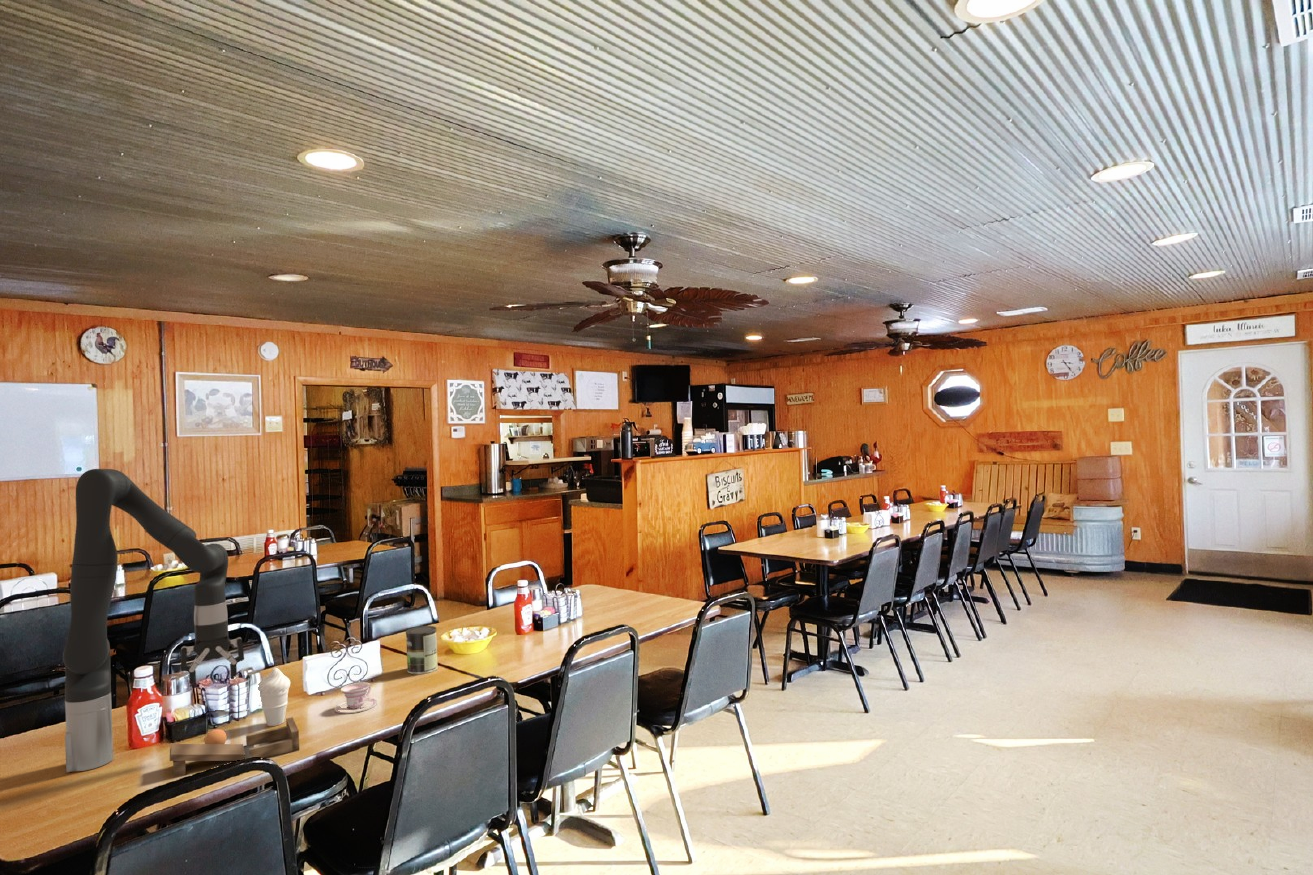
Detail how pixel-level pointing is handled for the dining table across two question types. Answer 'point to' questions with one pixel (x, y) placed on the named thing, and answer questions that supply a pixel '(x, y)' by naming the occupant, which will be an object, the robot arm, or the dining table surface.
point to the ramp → (203, 754)
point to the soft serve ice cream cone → (274, 696)
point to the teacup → (356, 697)
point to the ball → (216, 737)
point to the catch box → (273, 741)
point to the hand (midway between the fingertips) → (213, 681)
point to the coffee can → (421, 650)
